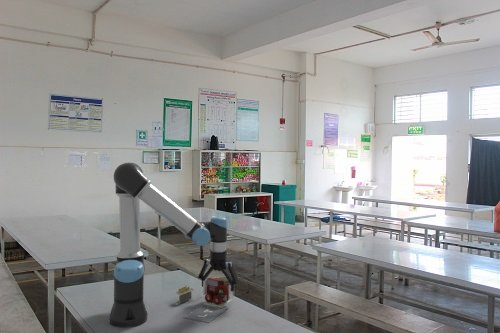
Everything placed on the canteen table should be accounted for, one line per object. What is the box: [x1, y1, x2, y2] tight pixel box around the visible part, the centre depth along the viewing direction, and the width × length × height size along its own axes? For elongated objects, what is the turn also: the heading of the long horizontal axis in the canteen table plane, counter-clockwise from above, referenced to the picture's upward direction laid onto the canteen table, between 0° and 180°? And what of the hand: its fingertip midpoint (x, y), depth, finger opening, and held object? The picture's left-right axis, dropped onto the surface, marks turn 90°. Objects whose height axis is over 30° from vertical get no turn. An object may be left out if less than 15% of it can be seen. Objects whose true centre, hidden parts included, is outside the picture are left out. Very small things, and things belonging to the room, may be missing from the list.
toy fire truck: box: [204, 277, 230, 305], centre depth 190 cm, size 7×12×10 cm, turn 57°
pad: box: [202, 299, 233, 309], centre depth 190 cm, size 10×10×1 cm
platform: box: [175, 285, 195, 304], centre depth 192 cm, size 12×18×7 cm, turn 148°
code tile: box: [183, 304, 227, 324], centre depth 176 cm, size 16×12×1 cm
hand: (217, 296), depth 190 cm, fingers open, 13 cm apart
